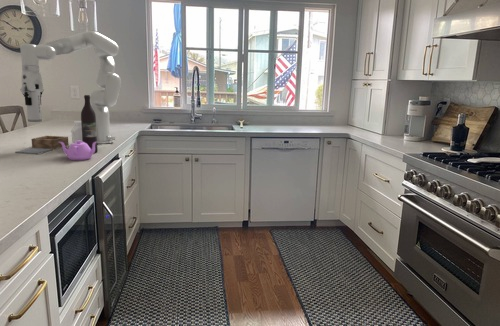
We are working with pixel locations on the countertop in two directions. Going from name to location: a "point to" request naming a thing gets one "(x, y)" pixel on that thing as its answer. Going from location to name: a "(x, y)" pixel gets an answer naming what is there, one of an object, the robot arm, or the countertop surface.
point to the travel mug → (34, 106)
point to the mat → (34, 150)
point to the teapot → (79, 150)
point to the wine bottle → (88, 124)
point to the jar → (77, 132)
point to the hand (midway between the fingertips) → (33, 104)
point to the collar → (49, 142)
